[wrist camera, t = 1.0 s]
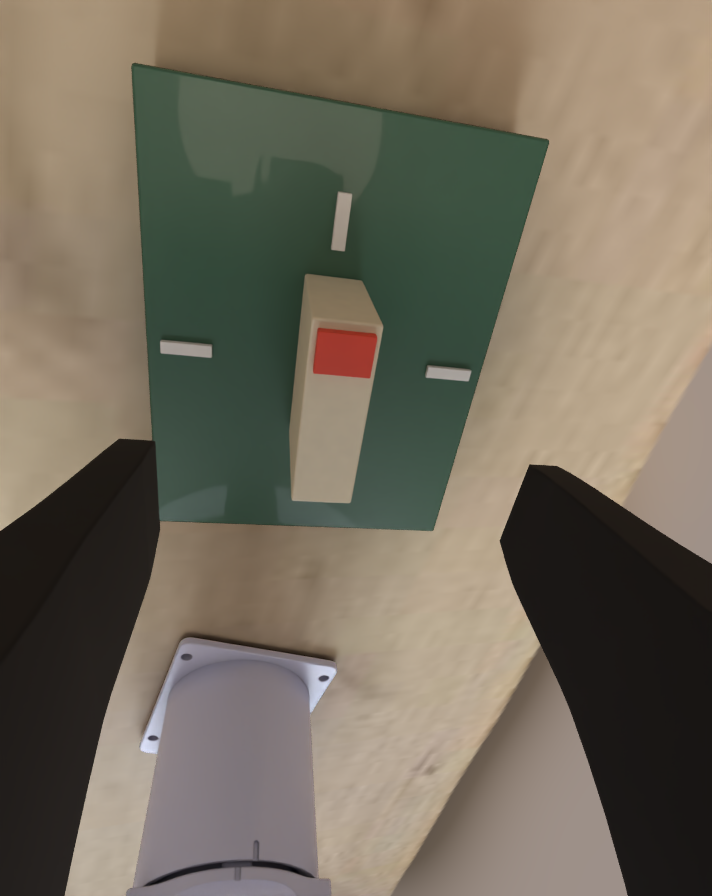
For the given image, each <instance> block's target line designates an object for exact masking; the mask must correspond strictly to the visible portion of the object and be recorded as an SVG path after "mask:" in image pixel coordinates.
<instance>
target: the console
mask: <svg viewBox="0 0 712 896" xmlns="http://www.w3.org/2000/svg"><path fill="white" fill-rule="evenodd" d="M131 69H132V87H133V105H134V122H135V140H136V158H137V176H138V194H139V212H140V229H141V247H142V265H143V283H144V301H145V318H146V336H147V354H148V372H149V390H150V407H151V425H152V441H155V443H156V462H157V481H158V500H159V519H160V521H173V522H201V523H228V524H256V525H283V526H310V527H338V528H365V529H393V530H420V531H433V530H434V526H435V523H436V520H437V516H438V513H439V510H440V506H441V503H442V500H443V496H444V493H445V490H446V486H447V483H448V480H449V476H450V473H451V470H452V466H453V463H454V459H455V456H456V453H457V449H458V446H459V443H460V439H461V436H462V433H463V429H464V426H465V423H466V419H467V416H468V413H469V409H470V406H471V403H472V399H473V396H474V393H475V389H476V386H477V382H478V379H479V376H480V372H481V369H482V366H483V362H484V359H485V356H486V352H487V349H488V346H489V342H490V339H491V336H492V332H493V329H494V326H495V322H496V319H497V316H498V312H499V309H500V305H501V302H502V299H503V295H504V292H505V289H506V285H507V282H508V279H509V275H510V272H511V269H512V265H513V262H514V259H515V255H516V252H517V249H518V245H519V242H520V239H521V235H522V232H523V228H524V225H525V222H526V218H527V215H528V212H529V208H530V205H531V202H532V198H533V195H534V192H535V188H536V185H537V182H538V178H539V175H540V172H541V168H542V165H543V161H544V158H545V155H546V151H547V148H548V145H549V140H547V139H543V138H538V137H533V136H527V135H522V134H516V133H511V132H506V131H500V130H495V129H489V128H484V127H478V126H473V125H468V124H462V123H457V122H451V121H446V120H441V119H435V118H430V117H424V116H419V115H414V114H408V113H403V112H397V111H392V110H387V109H381V108H376V107H370V106H365V105H360V104H354V103H349V102H343V101H338V100H333V99H327V98H322V97H316V96H311V95H305V94H300V93H295V92H289V91H284V90H278V89H273V88H268V87H262V86H257V85H251V84H246V83H241V82H235V81H230V80H224V79H219V78H214V77H208V76H203V75H197V74H192V73H187V72H181V71H176V70H170V69H165V68H159V67H154V66H149V65H143V64H138V63H133V64H132V66H131ZM306 274H313V275H321V276H329V277H338V278H346V279H354V280H361V281H362V282H363V284H364V286H365V288H366V290H367V292H368V294H369V296H370V299H371V301H372V303H373V305H374V307H375V309H376V311H377V313H378V316H379V318H380V320H381V322H382V324H383V332H382V338H381V343H380V348H379V354H378V359H377V365H376V370H375V375H374V381H373V386H372V392H371V397H370V402H369V408H368V413H367V418H366V424H365V429H364V435H363V440H362V445H361V451H360V456H359V461H358V467H357V472H356V478H355V483H354V488H353V494H352V499H351V502H350V503H330V502H308V501H293V500H292V499H291V473H290V441H289V427H290V417H291V408H292V398H293V388H294V378H295V368H296V358H297V348H298V338H299V328H300V318H301V308H302V298H303V288H304V278H305V275H306Z"/></svg>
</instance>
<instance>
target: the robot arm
mask: <svg viewBox="0 0 712 896" xmlns="http://www.w3.org/2000/svg"><path fill="white" fill-rule="evenodd" d="M159 532H160V519H159V500H158V481H157V462H156V443H155V441H147V440H131V439H118V440H117V441H116V442H114V443H113V444H112V445H111V446H109V447H108V448H107V449H106V450H104V451H103V452H102V453H101V454H99V455H98V456H97V457H96V458H95V459H93V460H92V461H91V462H90V463H89V464H87V465H86V466H85V467H84V468H83V469H81V470H80V471H79V472H78V473H76V474H75V475H74V476H73V477H72V478H70V479H69V480H68V481H67V482H65V483H64V484H63V485H62V486H60V487H59V488H58V489H57V490H55V491H54V492H53V493H51V494H50V495H49V496H48V497H46V498H45V499H44V500H43V501H41V502H40V503H39V504H37V505H36V506H35V507H33V508H32V509H31V510H29V511H28V512H26V513H25V514H24V515H22V516H21V517H19V518H18V519H17V520H15V521H14V522H12V523H11V524H10V525H8V526H7V527H5V528H4V529H3V530H1V531H0V896H65V891H66V886H67V881H68V876H69V871H70V866H71V862H72V857H73V852H74V847H75V843H76V838H77V834H78V829H79V825H80V820H81V816H82V811H83V807H84V802H85V798H86V793H87V788H88V784H89V780H90V775H91V771H92V767H93V763H94V758H95V754H96V750H97V745H98V741H99V737H100V733H101V728H102V724H103V720H104V717H105V713H106V710H107V707H108V703H109V700H110V696H111V693H112V690H113V687H114V684H115V681H116V678H117V675H118V672H119V669H120V667H121V664H122V661H123V658H124V655H125V652H126V649H127V646H128V643H129V640H130V637H131V634H132V631H133V628H134V625H135V622H136V620H137V617H138V614H139V611H140V608H141V605H142V602H143V599H144V596H145V593H146V590H147V587H148V583H149V580H150V577H151V572H152V567H153V563H154V558H155V553H156V548H157V542H158V537H159ZM500 543H501V547H502V550H503V554H504V558H505V561H506V565H507V568H508V571H509V574H510V577H511V580H512V583H513V586H514V588H515V590H516V593H517V595H518V597H519V599H520V602H521V604H522V606H523V608H524V610H525V612H526V615H527V617H528V619H529V621H530V623H531V625H532V627H533V630H534V632H535V634H536V636H537V638H538V640H539V642H540V644H541V646H542V649H543V651H544V653H545V655H546V657H547V659H548V661H549V663H550V666H551V668H552V670H553V672H554V674H555V676H556V678H557V680H558V683H559V685H560V687H561V689H562V692H563V694H564V696H565V699H566V701H567V703H568V706H569V708H570V711H571V714H572V717H573V719H574V722H575V725H576V728H577V731H578V734H579V737H580V739H581V742H582V745H583V748H584V751H585V754H586V756H587V759H588V762H589V765H590V769H591V772H592V775H593V778H594V781H595V784H596V787H597V790H598V794H599V797H600V800H601V803H602V806H603V809H604V812H605V816H606V819H607V823H608V826H609V830H610V833H611V837H612V840H613V844H614V847H615V851H616V854H617V858H618V862H619V865H620V869H621V872H622V875H623V879H624V882H625V886H626V890H627V895H628V896H712V564H711V563H709V562H708V561H706V560H704V559H703V558H701V557H699V556H698V555H696V554H694V553H693V552H691V551H690V550H688V549H686V548H685V547H683V546H681V545H680V544H678V543H677V542H675V541H674V540H672V539H670V538H669V537H667V536H666V535H664V534H663V533H661V532H659V531H658V530H656V529H655V528H653V527H652V526H650V525H648V524H647V523H646V522H644V521H643V520H641V519H640V518H638V517H637V516H635V515H634V514H632V513H631V512H629V511H628V510H626V509H625V508H623V507H622V506H620V505H619V504H617V503H616V502H614V501H613V500H611V499H610V498H608V497H607V496H605V495H604V494H602V493H601V492H599V491H598V490H596V489H595V488H593V487H592V486H590V485H589V484H587V483H585V482H584V481H582V480H581V479H579V478H577V477H576V476H574V475H572V474H571V473H569V472H567V471H565V470H564V469H562V468H560V467H558V466H546V465H530V464H529V467H528V470H527V472H526V475H525V477H524V480H523V482H522V485H521V488H520V490H519V493H518V495H517V498H516V500H515V503H514V505H513V508H512V511H511V513H510V516H509V518H508V521H507V523H506V526H505V529H504V531H503V534H502V536H501V539H500ZM336 673H337V665H336V663H335V662H334V661H331V660H325V659H319V658H313V657H307V656H301V655H295V654H289V653H283V652H277V651H271V650H265V649H259V648H253V647H247V646H241V645H235V644H230V643H224V642H218V641H212V640H206V639H200V638H194V637H188V638H184V639H183V640H181V641H180V643H179V645H178V648H177V651H176V653H175V656H174V658H173V661H172V663H171V666H170V668H169V671H168V673H167V676H166V678H165V681H164V683H163V686H162V688H161V691H160V693H159V696H158V698H157V701H156V703H155V706H154V709H153V711H152V714H151V716H150V719H149V721H148V724H147V726H146V729H145V731H144V734H143V736H142V739H141V742H140V746H139V748H140V750H141V751H143V752H146V753H155V754H157V759H156V765H155V770H154V775H153V781H152V786H151V791H150V797H149V802H148V807H147V813H146V818H145V823H144V829H143V834H142V840H141V845H140V850H139V856H138V861H137V866H136V872H135V877H134V882H133V888H129V889H128V890H127V892H126V896H331V881H330V879H319V875H318V856H317V836H316V817H315V797H314V778H313V759H312V739H311V720H310V714H311V712H312V711H313V709H314V708H315V706H316V705H317V703H318V701H319V700H320V698H321V697H322V695H323V694H324V692H325V690H326V689H327V687H328V686H329V684H330V683H331V681H332V679H333V678H334V676H335V675H336Z"/></svg>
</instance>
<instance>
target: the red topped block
mask: <svg viewBox="0 0 712 896" xmlns="http://www.w3.org/2000/svg"><path fill="white" fill-rule="evenodd" d="M382 332H383V324H382V322H381V320H380V318H379V316H378V313H377V311H376V309H375V307H374V305H373V303H372V301H371V299H370V296H369V294H368V292H367V290H366V288H365V286H364V284H363V282H362V281H361V280H354V279H346V278H338V277H329V276H321V275H313V274H306V275H305V278H304V288H303V298H302V308H301V318H300V328H299V338H298V348H297V358H296V368H295V378H294V388H293V398H292V408H291V417H290V427H289V441H290V473H291V499H292V500H293V501H308V502H330V503H350V502H351V499H352V494H353V488H354V483H355V478H356V472H357V467H358V461H359V456H360V451H361V445H362V440H363V435H364V429H365V424H366V418H367V413H368V408H369V402H370V397H371V392H372V386H373V381H374V375H375V370H376V365H377V359H378V354H379V348H380V343H381V338H382Z"/></svg>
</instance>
